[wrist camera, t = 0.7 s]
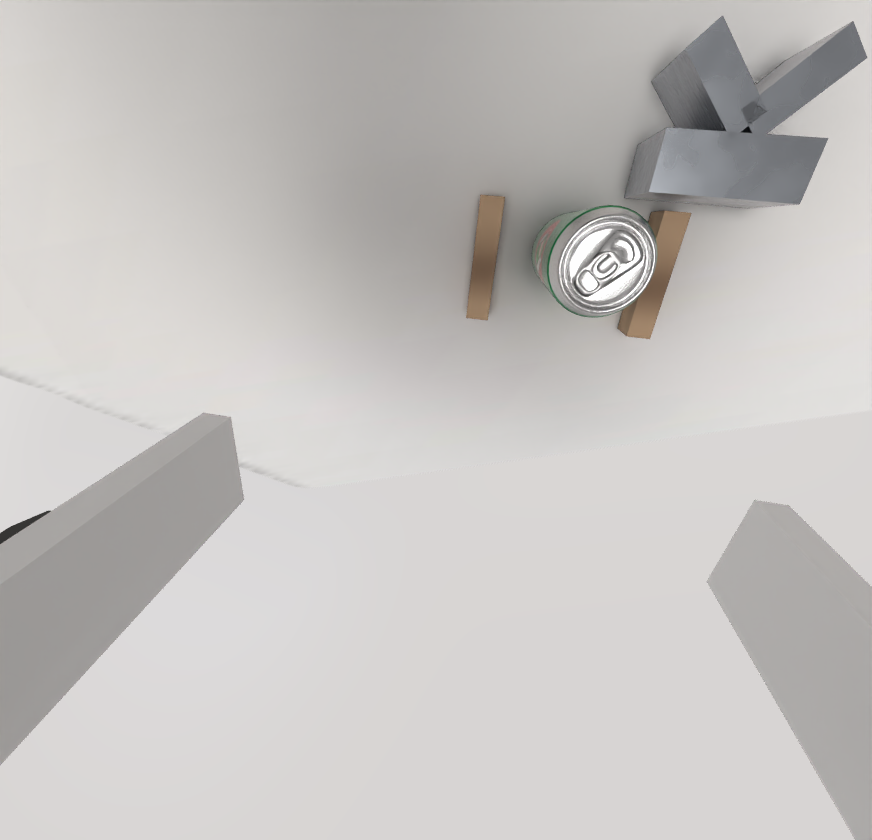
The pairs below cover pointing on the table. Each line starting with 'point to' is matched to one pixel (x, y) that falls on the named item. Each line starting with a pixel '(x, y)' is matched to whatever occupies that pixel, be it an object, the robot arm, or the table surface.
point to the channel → (634, 317)
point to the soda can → (596, 259)
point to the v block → (737, 124)
